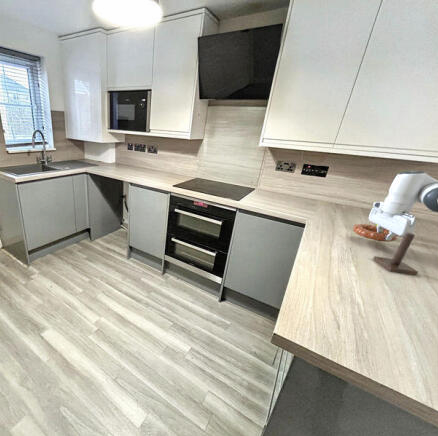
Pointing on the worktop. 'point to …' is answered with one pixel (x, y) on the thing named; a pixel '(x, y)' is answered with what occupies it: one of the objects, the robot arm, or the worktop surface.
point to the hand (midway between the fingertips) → (383, 237)
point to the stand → (398, 258)
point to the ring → (372, 232)
